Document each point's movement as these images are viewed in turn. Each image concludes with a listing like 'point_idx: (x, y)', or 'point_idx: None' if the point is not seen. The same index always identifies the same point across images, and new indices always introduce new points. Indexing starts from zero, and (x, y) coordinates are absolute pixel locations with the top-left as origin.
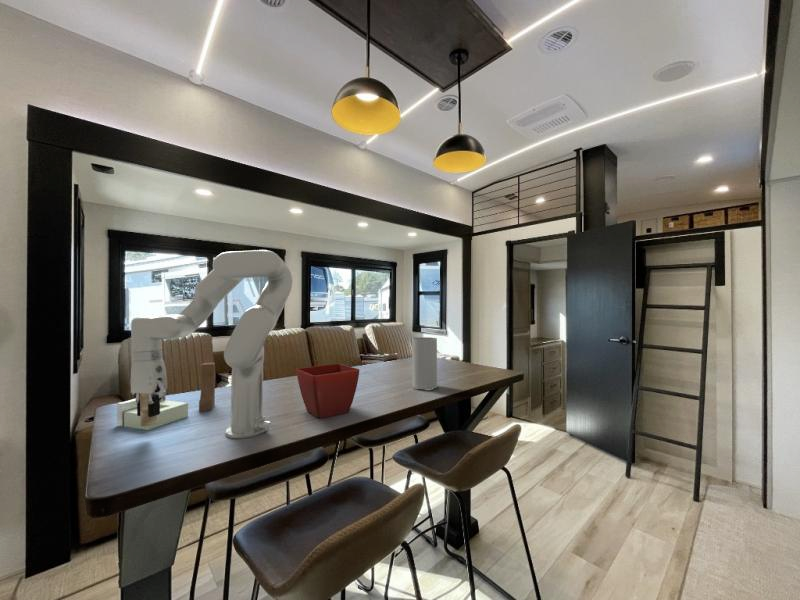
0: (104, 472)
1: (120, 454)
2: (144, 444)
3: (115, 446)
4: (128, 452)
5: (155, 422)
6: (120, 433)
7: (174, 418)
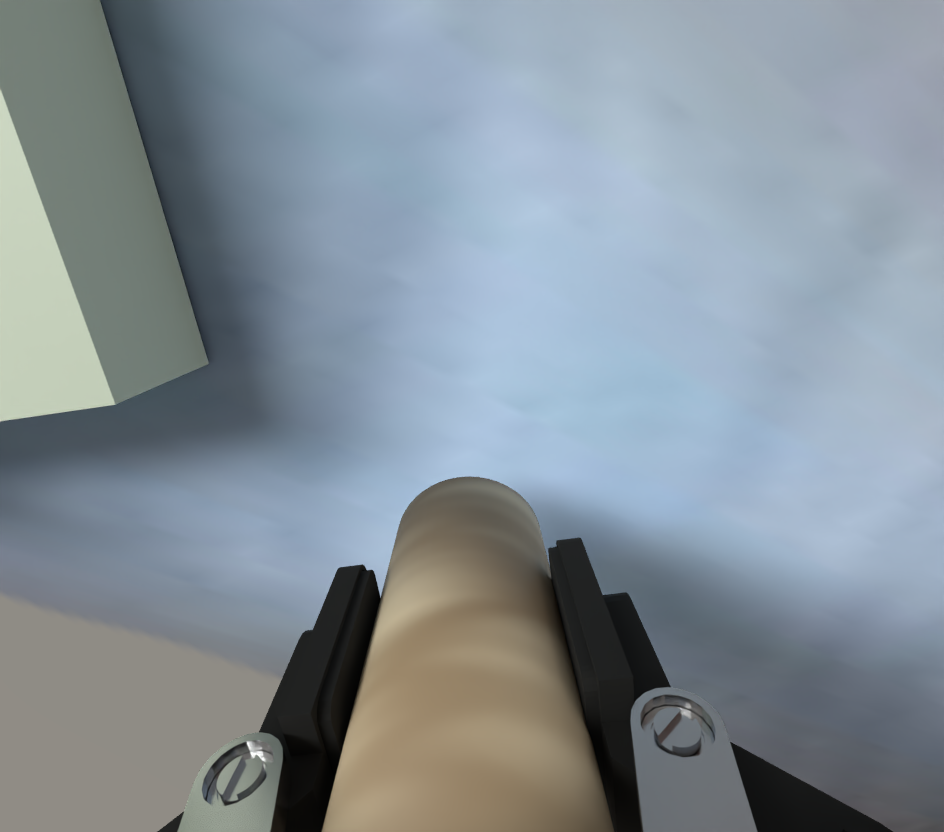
0: None
1: None
2: None
3: None
4: None
5: (536, 518)
6: (74, 498)
7: (92, 36)
